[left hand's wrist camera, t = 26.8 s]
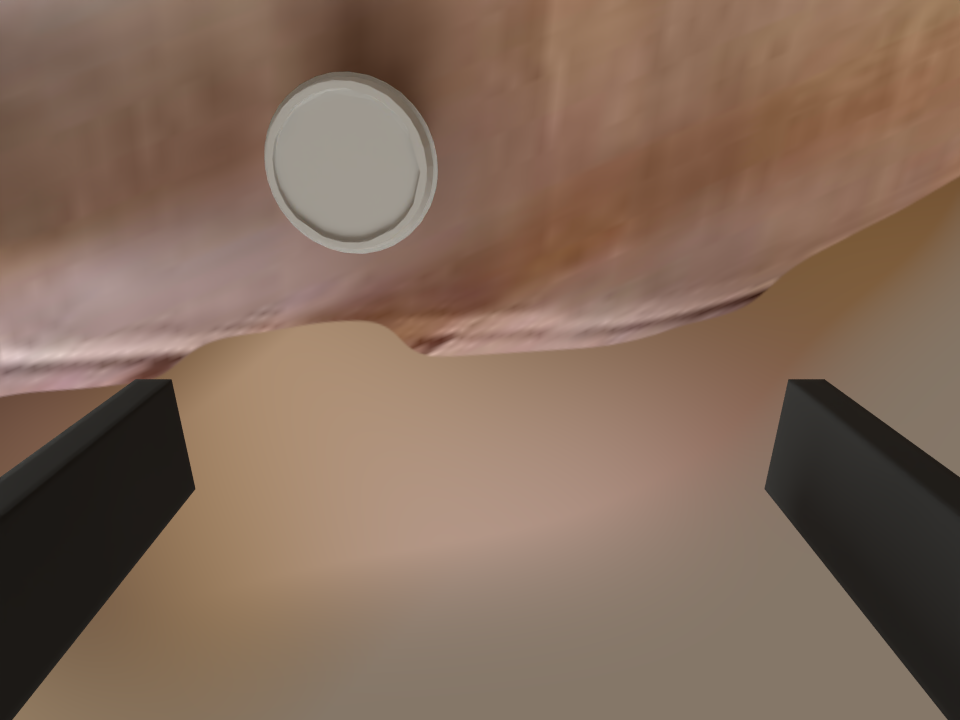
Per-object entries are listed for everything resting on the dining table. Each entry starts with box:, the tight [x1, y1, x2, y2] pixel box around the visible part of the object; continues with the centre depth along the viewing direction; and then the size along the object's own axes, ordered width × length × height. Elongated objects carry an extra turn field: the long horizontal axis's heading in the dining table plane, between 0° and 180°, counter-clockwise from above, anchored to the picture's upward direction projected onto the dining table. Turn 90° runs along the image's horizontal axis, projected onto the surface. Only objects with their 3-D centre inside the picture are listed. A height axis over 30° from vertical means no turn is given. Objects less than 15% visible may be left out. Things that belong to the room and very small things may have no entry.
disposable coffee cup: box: [264, 71, 438, 254], centre depth 36 cm, size 10×10×12 cm
